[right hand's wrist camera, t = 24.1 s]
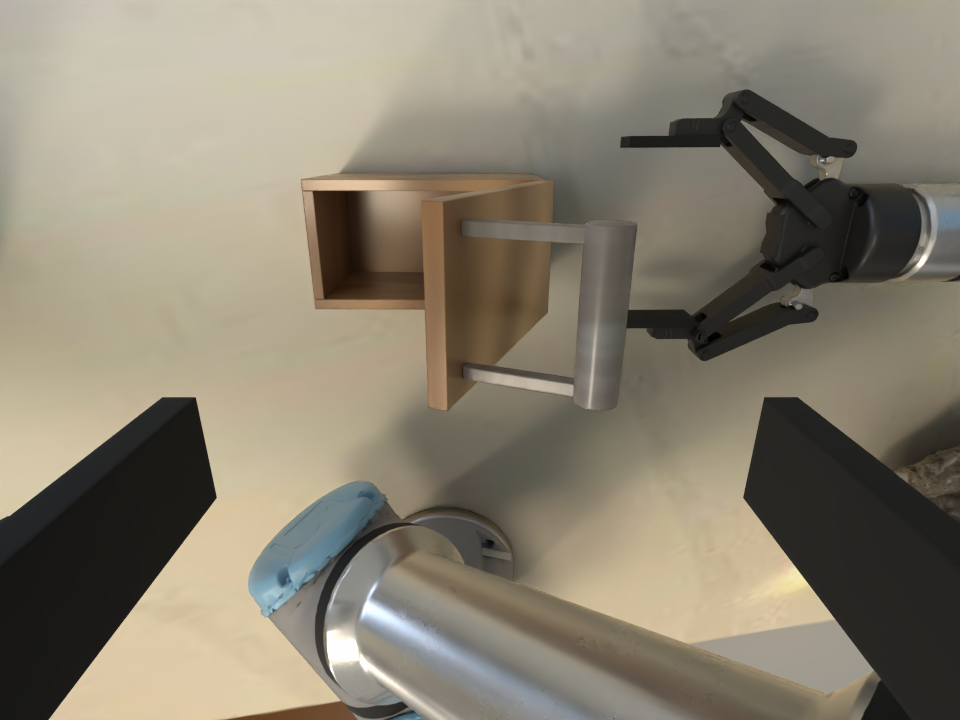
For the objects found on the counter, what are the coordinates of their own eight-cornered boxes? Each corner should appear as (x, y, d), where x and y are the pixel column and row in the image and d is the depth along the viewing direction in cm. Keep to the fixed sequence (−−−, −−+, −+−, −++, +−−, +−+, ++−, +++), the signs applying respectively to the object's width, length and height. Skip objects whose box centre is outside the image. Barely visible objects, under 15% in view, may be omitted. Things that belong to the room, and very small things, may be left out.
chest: (347, 278, 51) (315, 309, 41) (338, 173, 47) (300, 179, 37) (528, 278, 51) (540, 309, 41) (532, 173, 47) (546, 179, 37)
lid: (428, 407, 25) (608, 441, 22) (420, 200, 22) (632, 208, 19) (534, 311, 40) (650, 323, 38) (540, 180, 37) (667, 182, 34)
